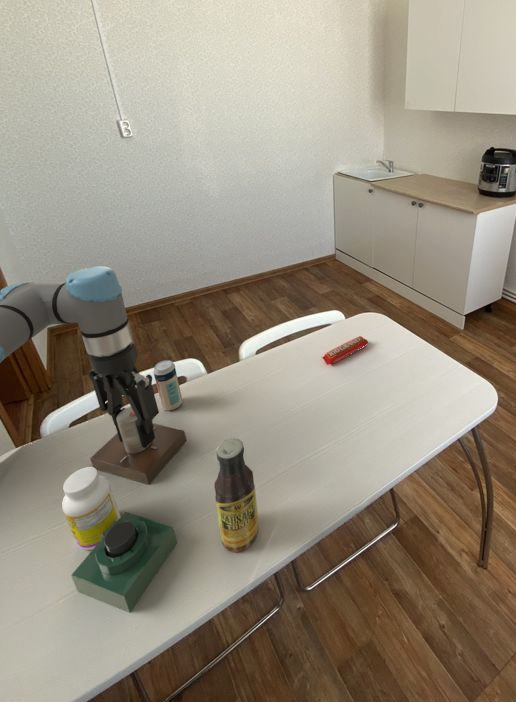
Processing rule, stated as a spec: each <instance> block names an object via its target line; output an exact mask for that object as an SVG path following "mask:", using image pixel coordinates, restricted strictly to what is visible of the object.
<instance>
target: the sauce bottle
mask: <svg viewBox="0 0 516 702" xmlns="http://www.w3.org/2000/svg"><path fill="white" fill-rule="evenodd" d="M244 455H245V446H244V442H243V441H242V439H240V438H239V437H230V438H227V439H225V440H223V441H222V442H220V444H219V445H218V447H217V448H216V458H217V461H218V463H219V471H218V473H217V478H216V480H215V481H214V492H215V496H214V498H215V505H216V512H217V520H218V526H219V535H220V539H221V542H222V543H221V544H222V545H223V548H224V549H225V550H227V551H228V552H232V553H240V552H243V551H245V550H247V549H248V548H249V547H250V546H251V545H252V544H253V543H254V542H255V540H256V539H257V535H258V531H259V516H258V515H259V514H258V503H257V494H256V486H255V481H254V472H253V470H252V469H251V468H250V467H249V466H248V465H247V464H246V461H245V456H244Z"/></svg>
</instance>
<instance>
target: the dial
mask: <svg viewBox="0 0 516 702" xmlns="http://www.w3.org/2000/svg"><path fill="white" fill-rule="evenodd" d="M125 408H126V409H124V410H123V411H121V412H120V413H119V414H118V416H117V419H116V420H117V423H118V427H119V430H120V433H121V437H122V440H123V443H124V447H125V450H126V452H128V453H130V454H134V453H138V452H141V451H143V450H144V449H146V448H147V447H148V446H149V445H150V444H151V443H150V444H149V445H148V446H147V447H146V448H143V447H142V444H141V441H140V437H139V433H138V430H137V426H136V422H137V421H138V419H137V417H136V415H135V413H134V411H133V409H132V407H131V406H128V407H125Z"/></svg>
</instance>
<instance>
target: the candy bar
mask: <svg viewBox="0 0 516 702" xmlns="http://www.w3.org/2000/svg"><path fill="white" fill-rule="evenodd" d="M368 342H369V340H368V339H366V338H364V337H363V336H361V335H360V336H357V337H355V338H352V339H350V340H348V341H346V342H344V343H342V344H340V345H339V346H336V347H335V348H333V349H331V350H329V351H327V352H326V353H325V354H324V355H323V356H321V358H322V359H323V361H324V362H325V364H326V365H327V366H329V365H330V364H331V365H334V364H336V363H338V362H340V361H342V360H344V359H345V358H344V357H346V356H347V357H349V356H351V355H352V354H351V353H353V352H355V351H357V350H358V349H360V348H362V347H363V346H365V345H366V344H367V343H368ZM367 345H368V344H367ZM367 345H366V346H367ZM366 346H365V347H366ZM362 349H363V348H362ZM360 350H361V349H360ZM357 352H358V351H357ZM355 353H356V352H355ZM350 354H351V355H350ZM353 354H354V353H353ZM348 355H349V356H348ZM347 357H346V358H347ZM343 358H344V359H343ZM341 359H342V360H341ZM339 360H340V361H339ZM337 361H338V362H337ZM335 362H336V363H335ZM333 363H334V364H333Z"/></svg>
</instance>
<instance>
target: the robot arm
mask: <svg viewBox="0 0 516 702" xmlns="http://www.w3.org/2000/svg"><path fill="white" fill-rule="evenodd" d="M67 324H68V325H69V324H77V325H78V328H79V331H80V334H81V337H82V341H83V344H84V347H85V350H86V353H87V354H88V360H89V362H90V366H91V370H89V371H88V372H87V376H88V377H89V379H90V381H91V383H92V385H93V386H92V387H93V389H94V393H95V396H96V400H97V403H98V407H99V410H100V411H101V412H103V413H104V412H107V415H108V416H110V417H111V419H112V422H113V425H114V426H115V429H116V434H117V433H118V436H119V439H120V442H123V440H122V437H121V433H120V430H119V427H118V423H117V420H116V419H117V416H118V414H119V413H120V412H121V411H123V410H124V409H126V408H127V407H125V406H126V403H124V402H123V397H126V399H127V402H128V404H129V406H130V407H132V409H133V411H134V413H135V415H136V417H137V419H138V421H137V422H136V426H137V430H138V433H139V437H140V441H141V444H142V447H143V448H146V447H147V446H148V445H149V444H150V443H151V442H152V441H153V440H154V438H155V435H154V431H153V428H154V426H153V419H155V418H156V417H157V416H158V415H159V414H160V410H159V406H158V403H157V398H156V395H155V392H154V387H153V376H152V375H151V374H147V375H145V376H144V375H143V374H141V373H140V370H139V369H138V367H137V366H136V362H137V359H138V351H137V347H136V343H135V340H133V339H134V336H133V333H132V329H131V325H130V322H129V317H128V315H127V311H126V307H125V302H124V298H123V290H122V287H121V285H120V282H119V280H118V276H117V273H116V271H115V270H114V269H112V268H110V267H108V266H92V267H85V268H81V269H79V270H76V271H73V272H72V273H70V274H69V275H68V276H67V277H66V278H65V281H55V282H33V281H32V282H23V283H16V284H10V285H7V286H5V287H3V288H2V289H0V364H1V363H2V362H3V361H4V360H5V359H6V358H8V357H9V356H10V355H11V354H12V353H14V352H15V351H16V350H17V349H19V348H20V347H21V346H23V345H25V344H26V343H27V342H29V341H31V340H32V339H33V338H34V337H36V336H37V335H38V334H39V333H41V332H42V331H44V330H45V329H46V328H47V327H49V326H52V325H67Z"/></svg>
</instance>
